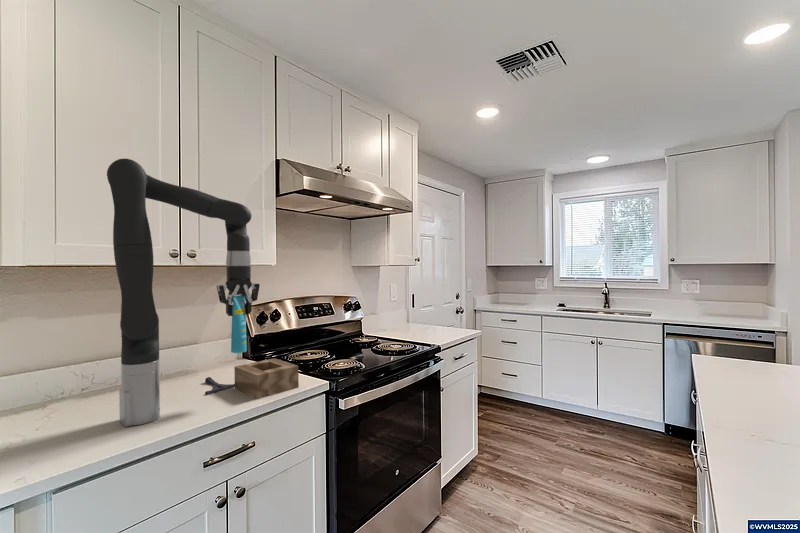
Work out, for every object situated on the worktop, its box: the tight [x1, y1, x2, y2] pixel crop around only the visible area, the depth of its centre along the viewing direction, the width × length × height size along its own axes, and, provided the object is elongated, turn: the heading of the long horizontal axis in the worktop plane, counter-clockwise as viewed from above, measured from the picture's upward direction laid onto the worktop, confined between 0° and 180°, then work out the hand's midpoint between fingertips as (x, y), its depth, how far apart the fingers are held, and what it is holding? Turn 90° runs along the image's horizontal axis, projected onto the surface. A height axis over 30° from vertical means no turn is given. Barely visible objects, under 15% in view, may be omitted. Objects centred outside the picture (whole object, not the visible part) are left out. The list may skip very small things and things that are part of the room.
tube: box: [230, 295, 248, 354], centre depth 127 cm, size 7×5×19 cm, turn 3°
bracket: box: [204, 376, 235, 396], centre depth 142 cm, size 14×15×3 cm
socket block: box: [234, 358, 300, 400], centre depth 139 cm, size 16×17×8 cm
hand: (239, 314), depth 127 cm, fingers closed on tube, 5 cm apart
